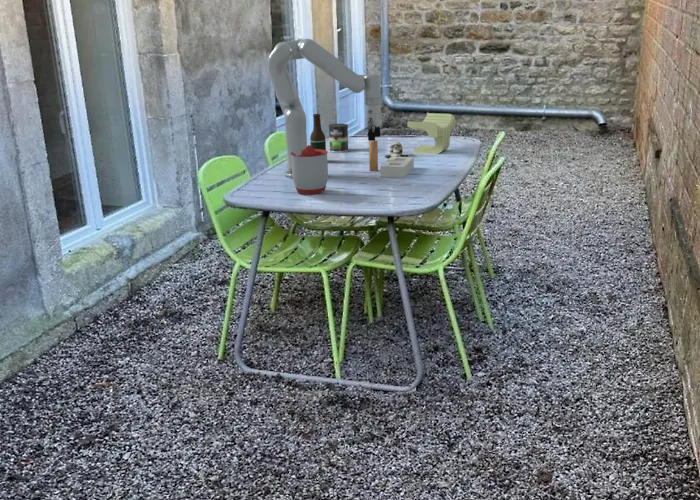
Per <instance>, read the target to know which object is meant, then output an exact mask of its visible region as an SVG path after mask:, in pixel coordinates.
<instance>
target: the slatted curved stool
mask: <svg viewBox="0 0 700 500" xmlns="http://www.w3.org/2000/svg"><path fill="white" fill-rule="evenodd" d="M407 128H409V129H412V130H413V131H423V132H426V133H427V135H428V138H433V140H434V141H435V143H434V144H430V145H426V144H423V145H419V146H417V147H415V148H413V154H424V155H425V154H426V153H427V154H428V155H430V154H431V155H438V154H440V153H442V152H444V151H445V150H448V148H449V147H450V141H451V140H450V139H451V132H452V130H453V129H456V117H455V115H453V114H451V113H435V112H434V113H433V112H431V113H430V112H427V113H426V116H425V117H424V119H423V120H422V121H410V120H409V121H407Z"/></svg>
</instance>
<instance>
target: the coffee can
mask: <svg viewBox="0 0 700 500" xmlns="http://www.w3.org/2000/svg"><path fill="white" fill-rule="evenodd" d="M328 132H329V134H328V135H329V136H328V137H329V152H331V153H334V152H335V154H336V153H337V154H339V153H340V152H341V153H346V151H347V152H349V125H348V124H347V123H331V124H329V125H328Z"/></svg>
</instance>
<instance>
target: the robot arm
mask: <svg viewBox="0 0 700 500" xmlns="http://www.w3.org/2000/svg"><path fill="white" fill-rule="evenodd" d="M300 59H301V60H302V59H305V60H307V61H308V62H310V63H311V64H312V65H313V66H315V67H316V68H318V69H319V70H320V71H321V72H323V73H325V75H327V76H329V77H331V78H333V79H334V80H336V81H337V82H338V83H340V84H341V85H342V86H344V87H345V88H347V89H348V90H349V91H351V92H352V93H354V94H359V93H360V94H361V93H362V92H363V95H364V96H363V97H364V106H366V126H367V140H368V142H369V141H375V140H376V138H379V137H381V125H382V123H383V122H382V120H383V119H382V111H381V105H382V97H381V95H382V94H381V93H382V92H381V78H380V75H379V74H378V73H369V74H357V72H356V71H355V72H354V71H353V69H351V68H349V66H347V65H346V64H344V62H342V61H341V60H340V59H339V58H338V57H336V56H335V54H332V53H331V52H330V51H328V50H327V49H325V47H323V46H322V45H320V44H319V43H317V42H316V41H314V40H313V39H311V38H303V39H297V40H289V41H280V42H278V43H277V44H276V45H275V46H274V47H273V50H272V51H271V53H270V54H269V57H268V59H267V71H268V75H269V78H270V81H271V83H272V87H273V89H274V91H275V96H276V99H277V101H278V104H279V106H280V109H281V111H282V114H283V117H284V125H285V141H286V157H287V171H285V172H284V175H285V176H286V177H289V178H293V175H292V163H291V152H293V153H295V156H299V155H301V150H304V149H305V148H306V147H307V146H308V139H307V138H308V137H307V116H306V112H305V111H304V108H303V105H302V102H301V100H300V97H299V95H298V92H297V89H296V86H295V85H294V83H293V81H292V78H291V76H290V72H289V70H288V64H289V62H290V61H294V60H296V61H297V60H300Z"/></svg>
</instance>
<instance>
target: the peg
mask: <svg viewBox="0 0 700 500" xmlns="http://www.w3.org/2000/svg"><path fill="white" fill-rule="evenodd" d="M378 146H379V144H378V140H376V139H375V141H369V140H368V154H369V155H368V156H369V157H368V159H369V160H368V161H369V171H370V172H377V171H379V161H378V160H379V156H378V153H379V151H378V150H379V147H378Z"/></svg>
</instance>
